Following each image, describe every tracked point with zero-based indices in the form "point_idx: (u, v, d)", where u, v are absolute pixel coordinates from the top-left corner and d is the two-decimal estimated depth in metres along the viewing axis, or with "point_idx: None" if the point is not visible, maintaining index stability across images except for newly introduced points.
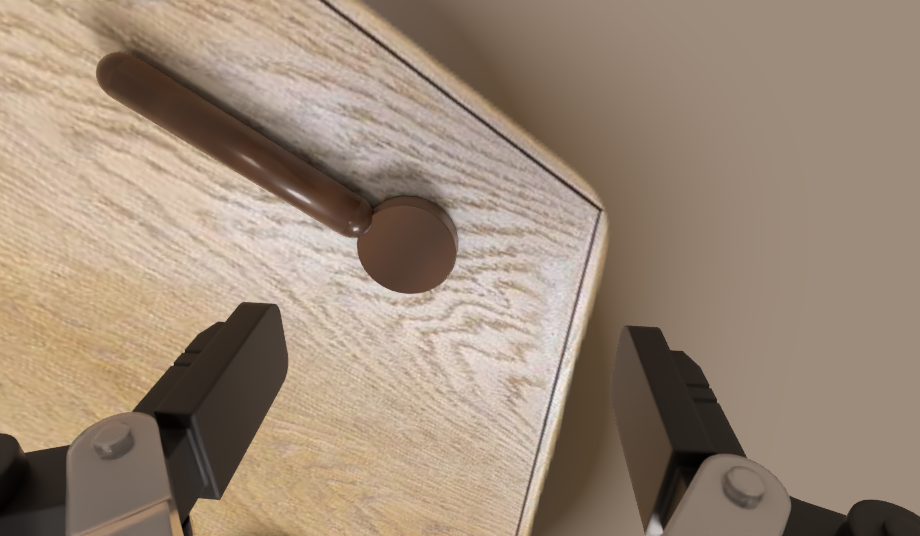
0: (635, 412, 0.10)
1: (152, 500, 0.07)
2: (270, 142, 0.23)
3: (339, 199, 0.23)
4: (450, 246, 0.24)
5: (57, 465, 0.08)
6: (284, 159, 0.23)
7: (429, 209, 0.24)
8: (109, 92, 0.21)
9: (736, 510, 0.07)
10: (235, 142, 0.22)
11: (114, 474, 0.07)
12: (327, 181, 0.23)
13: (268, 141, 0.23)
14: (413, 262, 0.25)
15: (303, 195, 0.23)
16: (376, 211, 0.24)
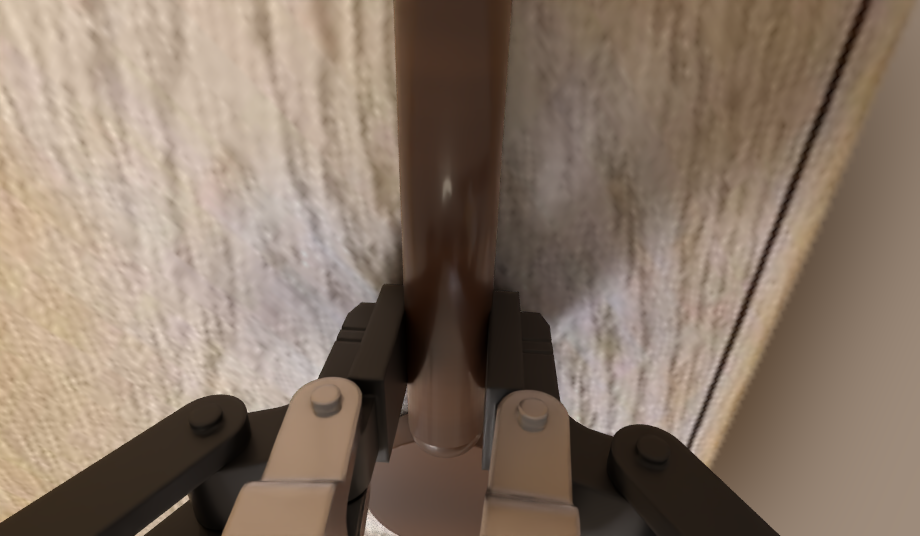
0: (486, 365, 0.11)
1: (331, 473, 0.07)
2: (494, 260, 0.11)
3: (475, 413, 0.12)
4: None
5: (271, 424, 0.09)
6: (487, 308, 0.11)
7: None
8: None
9: (518, 432, 0.08)
10: (475, 233, 0.10)
11: (341, 429, 0.08)
12: None
13: None
14: (433, 510, 0.15)
15: (450, 375, 0.11)
16: (480, 443, 0.14)
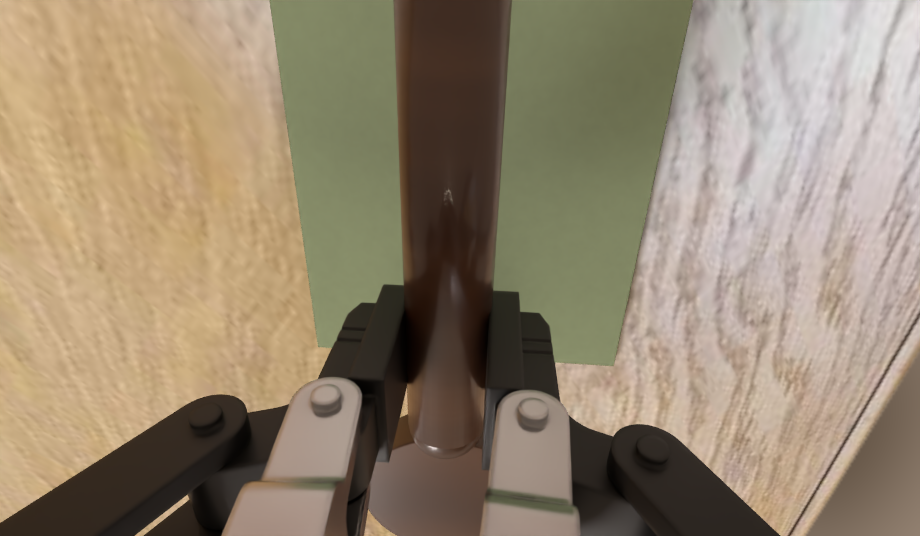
0: (486, 365, 0.11)
1: (331, 473, 0.07)
2: (494, 261, 0.11)
3: (475, 414, 0.12)
4: None
5: (271, 424, 0.09)
6: (487, 309, 0.11)
7: None
8: None
9: (518, 432, 0.08)
10: (475, 234, 0.10)
11: (341, 429, 0.08)
12: None
13: None
14: (433, 511, 0.15)
15: (450, 376, 0.11)
16: (480, 444, 0.14)
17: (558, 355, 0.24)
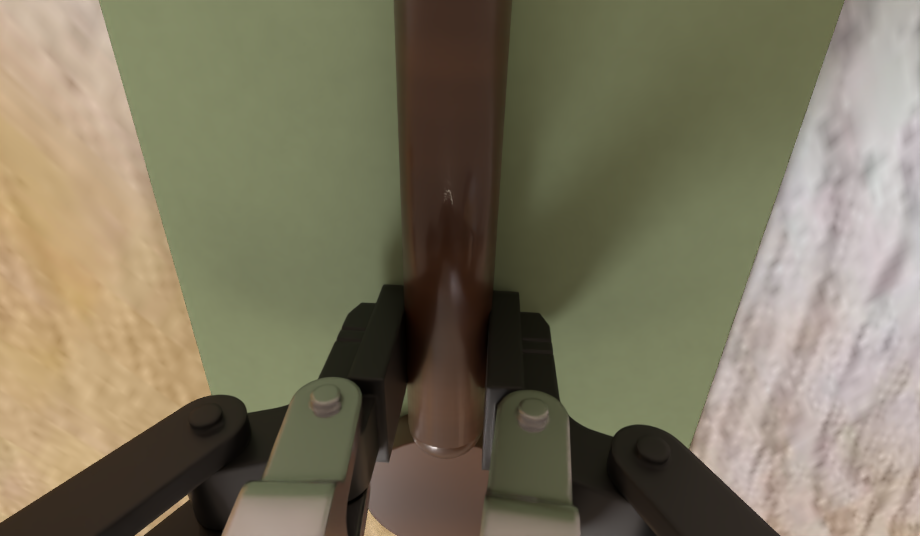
0: (486, 365, 0.11)
1: (331, 472, 0.07)
2: (494, 261, 0.11)
3: (475, 413, 0.12)
4: None
5: (271, 425, 0.09)
6: (487, 309, 0.11)
7: None
8: None
9: (518, 432, 0.08)
10: (475, 233, 0.10)
11: (341, 429, 0.08)
12: None
13: None
14: (433, 511, 0.15)
15: (449, 376, 0.11)
16: (480, 444, 0.14)
17: None
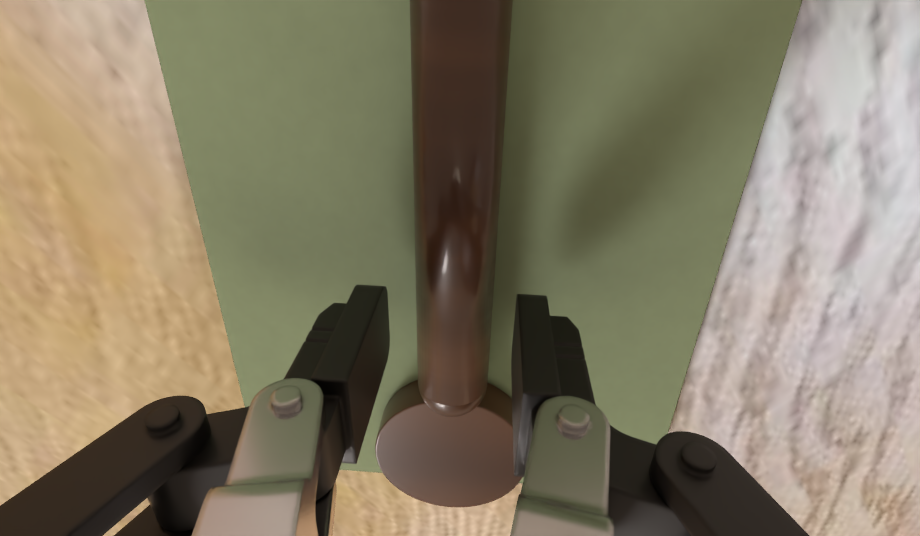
0: (516, 370, 0.11)
1: (297, 471, 0.07)
2: (496, 232, 0.12)
3: (479, 373, 0.14)
4: (495, 494, 0.17)
5: (232, 426, 0.09)
6: (490, 276, 0.12)
7: None
8: None
9: (560, 439, 0.08)
10: (480, 206, 0.11)
11: (299, 431, 0.08)
12: (489, 338, 0.14)
13: (497, 230, 0.12)
14: (440, 470, 0.16)
15: (456, 337, 0.13)
16: (483, 404, 0.15)
17: None
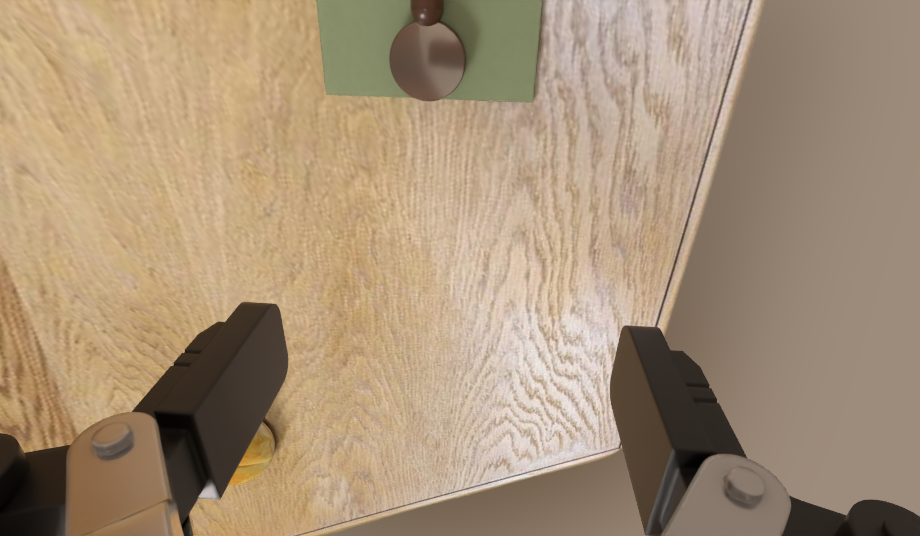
0: (635, 412, 0.10)
1: (152, 500, 0.07)
2: None
3: None
4: (450, 88, 0.33)
5: (57, 465, 0.08)
6: None
7: (465, 58, 0.32)
8: None
9: (736, 510, 0.07)
10: None
11: (114, 474, 0.07)
12: None
13: None
14: (422, 71, 0.32)
15: None
16: (442, 23, 0.31)
17: (494, 94, 0.34)
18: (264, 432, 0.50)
